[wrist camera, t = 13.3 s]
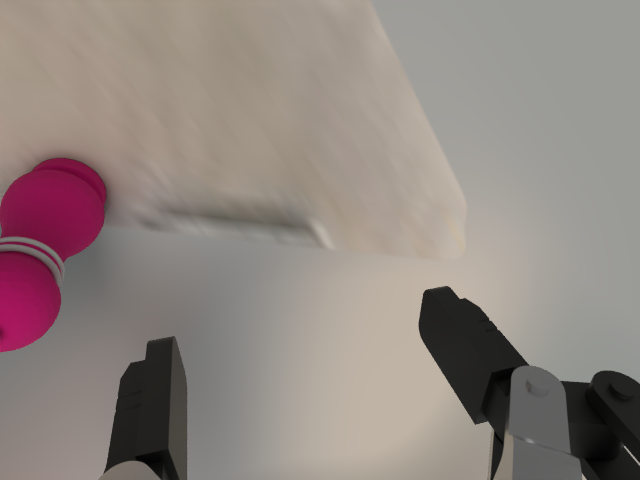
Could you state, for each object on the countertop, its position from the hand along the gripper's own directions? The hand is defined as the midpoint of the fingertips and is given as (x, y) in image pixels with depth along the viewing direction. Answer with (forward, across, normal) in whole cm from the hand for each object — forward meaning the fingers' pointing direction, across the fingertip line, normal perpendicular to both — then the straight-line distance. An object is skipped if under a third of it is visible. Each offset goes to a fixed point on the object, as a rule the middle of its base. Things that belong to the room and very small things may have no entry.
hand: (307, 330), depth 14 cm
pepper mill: (+30, +15, +7) cm, 35 cm away
